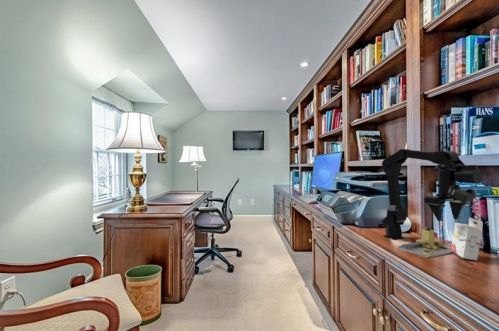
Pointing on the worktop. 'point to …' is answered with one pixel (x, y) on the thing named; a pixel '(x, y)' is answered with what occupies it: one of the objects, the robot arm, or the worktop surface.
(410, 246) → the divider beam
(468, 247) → the ink cartridge box
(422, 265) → the worktop surface
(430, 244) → the slider
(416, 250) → the flange plate
